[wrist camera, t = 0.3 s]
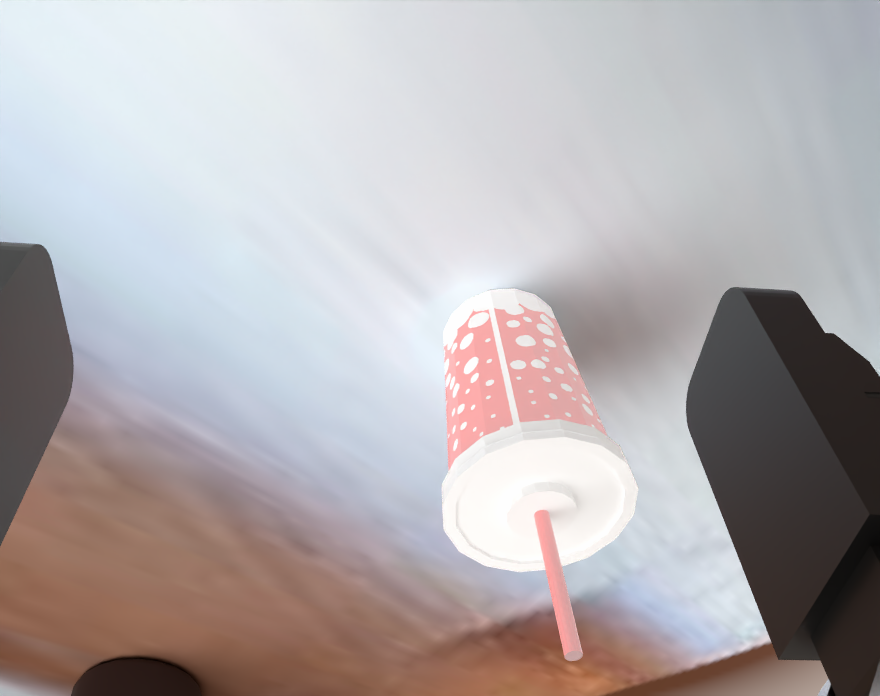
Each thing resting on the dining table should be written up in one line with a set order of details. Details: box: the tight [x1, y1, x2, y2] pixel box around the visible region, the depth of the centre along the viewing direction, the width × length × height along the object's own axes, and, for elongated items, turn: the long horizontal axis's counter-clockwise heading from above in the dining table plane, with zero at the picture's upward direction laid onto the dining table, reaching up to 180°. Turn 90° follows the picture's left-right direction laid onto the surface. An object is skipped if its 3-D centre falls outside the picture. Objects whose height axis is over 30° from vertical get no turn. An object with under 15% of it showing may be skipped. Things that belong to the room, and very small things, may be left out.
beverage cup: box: [442, 288, 638, 661], centre depth 27 cm, size 6×6×14 cm
